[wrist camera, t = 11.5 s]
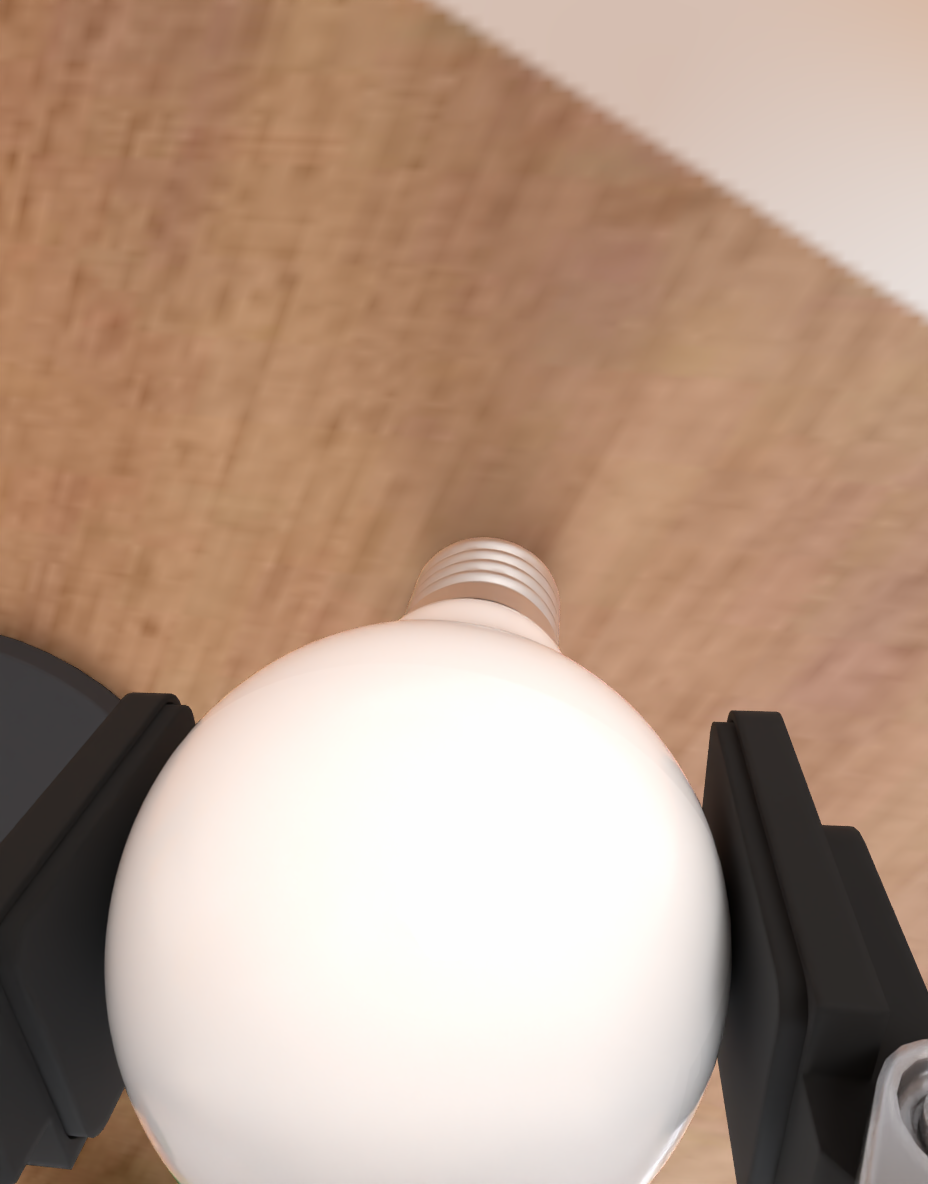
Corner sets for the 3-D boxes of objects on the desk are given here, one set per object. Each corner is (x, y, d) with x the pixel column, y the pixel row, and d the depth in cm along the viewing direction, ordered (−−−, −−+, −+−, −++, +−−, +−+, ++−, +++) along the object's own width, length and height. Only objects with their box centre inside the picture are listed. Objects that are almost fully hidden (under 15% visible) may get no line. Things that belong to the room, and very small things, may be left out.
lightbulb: (733, 550, 15) (1018, 1261, 5) (534, 773, 18) (483, 1502, 8) (433, 351, 14) (114, 781, 4) (272, 620, 17) (-139, 1244, 7)
